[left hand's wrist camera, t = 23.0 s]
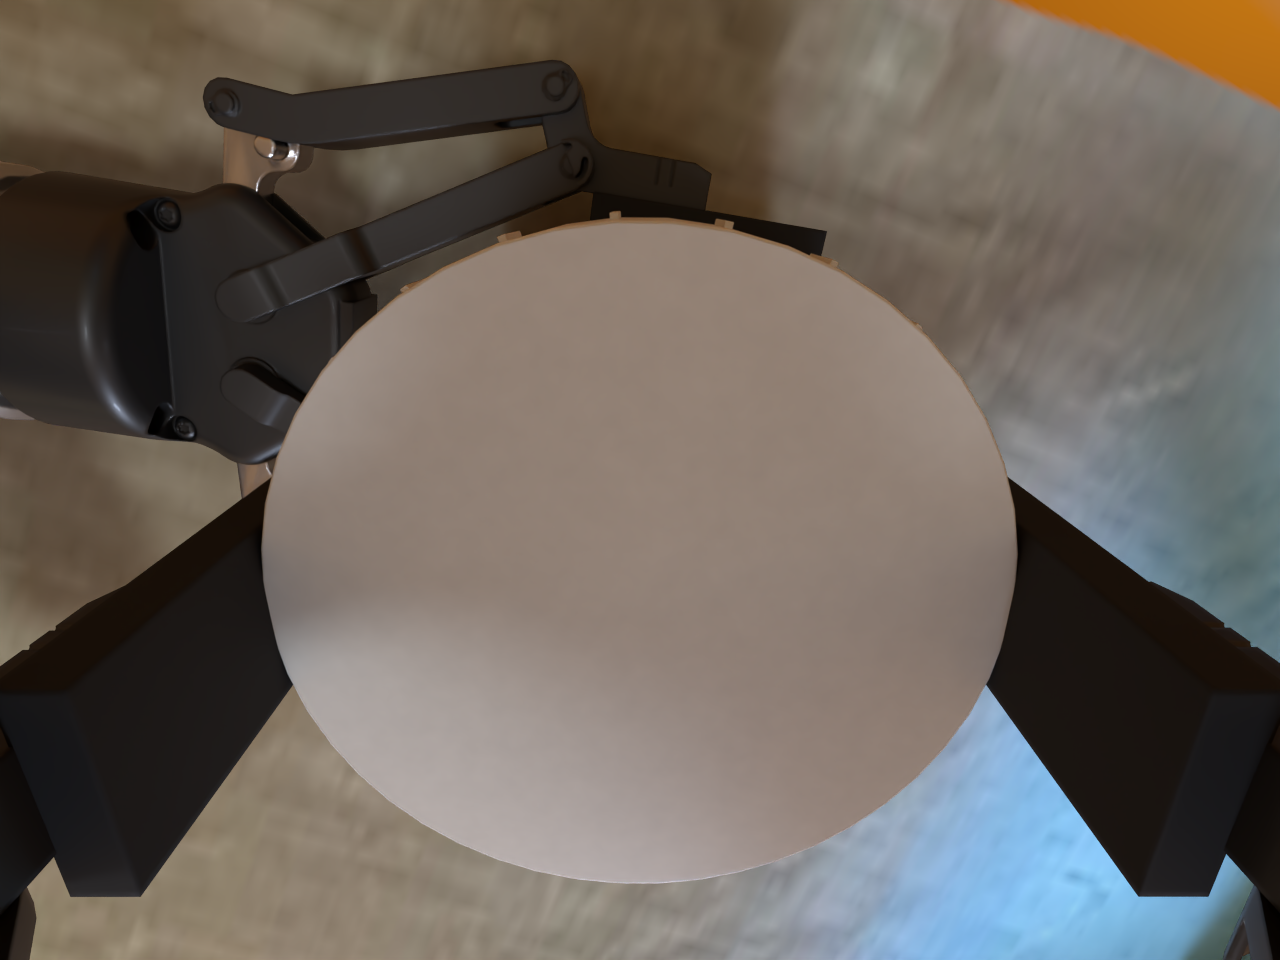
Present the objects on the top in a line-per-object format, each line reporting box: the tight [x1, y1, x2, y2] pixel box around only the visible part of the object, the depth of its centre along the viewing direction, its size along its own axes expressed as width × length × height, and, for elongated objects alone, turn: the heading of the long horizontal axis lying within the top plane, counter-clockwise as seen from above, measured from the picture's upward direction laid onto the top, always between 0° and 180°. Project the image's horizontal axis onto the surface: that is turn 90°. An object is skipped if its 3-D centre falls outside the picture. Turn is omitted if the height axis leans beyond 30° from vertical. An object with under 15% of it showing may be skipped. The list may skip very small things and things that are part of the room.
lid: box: [261, 211, 1018, 883], centre depth 11 cm, size 11×11×2 cm
